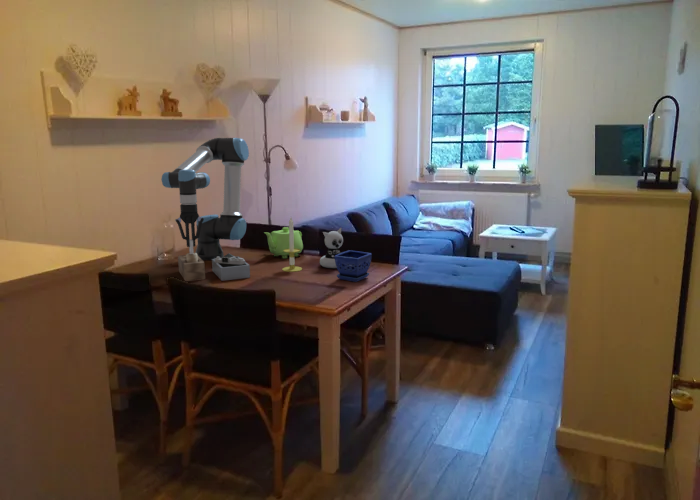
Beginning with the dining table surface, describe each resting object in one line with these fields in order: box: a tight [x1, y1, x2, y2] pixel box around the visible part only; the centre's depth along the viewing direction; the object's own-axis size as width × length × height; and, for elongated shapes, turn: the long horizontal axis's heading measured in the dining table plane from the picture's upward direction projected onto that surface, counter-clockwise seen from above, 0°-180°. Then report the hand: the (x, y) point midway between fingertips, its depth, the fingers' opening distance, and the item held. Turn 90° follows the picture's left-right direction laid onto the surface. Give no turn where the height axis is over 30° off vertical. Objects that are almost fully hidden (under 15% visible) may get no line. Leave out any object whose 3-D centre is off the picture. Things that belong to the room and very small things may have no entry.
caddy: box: [211, 256, 251, 281], centre depth 268 cm, size 14×20×6 cm, turn 25°
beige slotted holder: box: [177, 254, 206, 282], centre depth 266 cm, size 9×20×8 cm, turn 25°
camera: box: [215, 252, 246, 267], centre depth 269 cm, size 16×9×10 cm, turn 74°
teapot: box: [263, 226, 304, 260], centre depth 308 cm, size 25×22×16 cm
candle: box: [281, 217, 303, 273], centre depth 275 cm, size 10×10×27 cm
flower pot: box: [334, 249, 373, 283], centre depth 260 cm, size 13×13×12 cm
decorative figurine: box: [319, 227, 344, 269], centre depth 283 cm, size 15×15×20 cm
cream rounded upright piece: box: [185, 252, 198, 263], centre depth 262 cm, size 5×5×8 cm
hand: (191, 253), depth 261 cm, fingers closed
